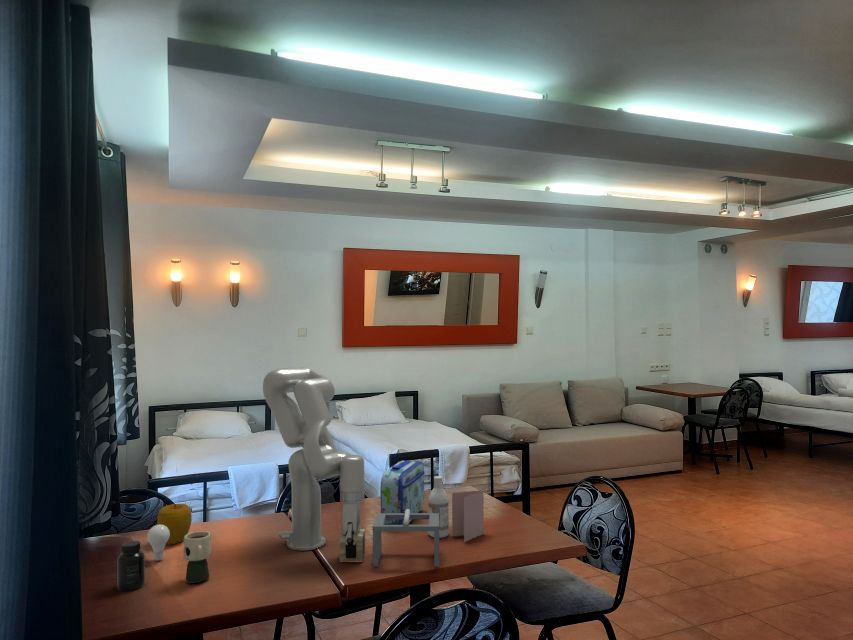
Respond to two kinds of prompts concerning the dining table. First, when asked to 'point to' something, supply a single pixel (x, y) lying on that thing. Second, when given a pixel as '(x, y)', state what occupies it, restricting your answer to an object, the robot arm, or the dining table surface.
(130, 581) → the supplement bottle
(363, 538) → the birch clip
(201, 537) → the character mug
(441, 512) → the bath foam
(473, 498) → the greeting card
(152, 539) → the lightbulb
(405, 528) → the shelf stand
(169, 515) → the apple
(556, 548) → the dining table surface
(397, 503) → the lunch box
